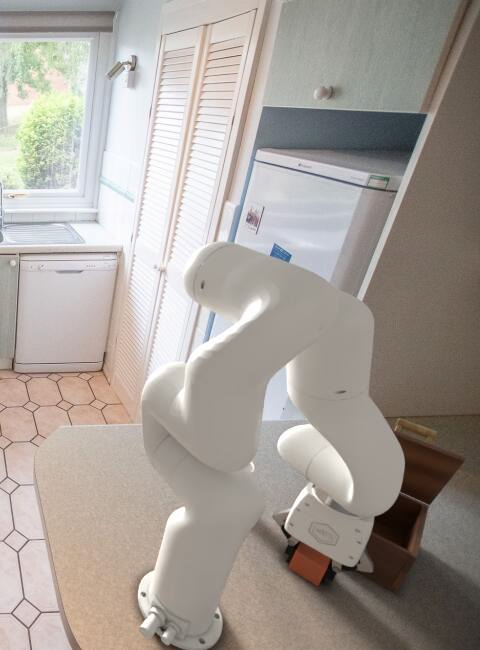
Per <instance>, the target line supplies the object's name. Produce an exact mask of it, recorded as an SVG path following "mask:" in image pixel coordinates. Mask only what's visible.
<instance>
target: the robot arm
mask: <svg viewBox="0 0 480 650" xmlns="http://www.w3.org/2000/svg"><path fill="white" fill-rule="evenodd" d="M182 284H183V287H184V290H185V292H186V293H187V295H188V296H189V298H190V299H191V300H192V301H194V302H195V303H197V304H199V305H200V306H202V307H204V308H206V309H207V310H209V311H211V312H213V313H214V314H216V315H217V316H220V317H221V318H224V319H225V320H227V321H229V322H230V323H232V324H233V325H232V326H230V327H229V328H228V329H226V330H225V331H223V332H222V333H220V334H219V335H217V336H215V337H213V338H211V339H210V340H207V341H206V342H204V343H203V344H201V345H199V346H198V347H197V348H195V349H194V351H193V352H192V353H191V354H190V355H189V358H188V360H187V362H184V361H172V362H168V363H165V364H163V365H161V366H159V367H158V368H156V369H155V370H154V372H152V373H151V375H150V376H149V377H148V378H147V380H146V382H145V383H144V386H143V388H142V390H141V395H140V421H141V423H140V424H141V440H142V441H141V442H142V448H143V453H144V456H145V458H146V460H147V462H148V463H149V464H150V466H151V467H152V468H153V469H154V470H155V472H156V473H157V474H158V475H159V476H160V477H161V479H162V480H163V481H164V482H165V483H166V485H167V486H168V487H169V488H170V489H171V491H172V492H173V493H174V495H175V496H176V497H177V498H178V499H179V500H180V502H181V503H182V505H183V506H182V507H180V508H178V509H176V510H174V511H173V512H172V513H171V514H170V515H169V517H168V519H167V522H166V525H165V528H164V533H163V537H162V540H161V544H160V548H159V552H158V556H157V559H156V563H155V566H154V570H152V571H149V572H148V573H147V574H145V575H144V576H143V578H142V579H141V581H140V583H139V587H138V590H137V601H138V607H139V609H140V612H141V615H142V616H143V618H144V621H143V623H142V624H141V625H140V626H139V632H140V634H141V635H142V636H143V637H144V639H147V640H151V639H152V638H153V637H154V635H155V634H156V635H157V636H159V637H160V640H161V642H162V643H163V644H164V645H165V646H170V645H172V646H174V647H177V648H179V649H181V650H208V649H210V648H212V647H214V646H215V645H216V644H217V643H218V642H219V639H220V637H221V635H222V631H223V625H224V622H223V615H222V612H221V609H220V607H219V604H220V602H221V599H222V596H223V593H224V591H225V588H226V586H227V583H228V581H229V578H230V575H231V573H232V569H233V567H234V566H235V565H234V564H235V561H236V559H237V557H238V554H239V552H240V550H241V548H242V546H243V543H244V541H245V539H246V538H247V536H248V535H249V533H250V532H251V531H252V529H253V528H254V527H255V526H256V525H257V523H258V522H259V521H260V519H261V518H262V516H263V515H264V513H265V512H266V511H265V510H266V509H267V508H266V507H267V496H266V493H265V490H264V489H263V486H262V485H261V484H260V481H258V479H257V478H256V477H255V476H254V474H253V475H252V474H251V473H250V472H249V471H248V470H247V469H246V468H245V467H247V466H248V465H249V464H250V462H251V461H252V462H253V460H254V459H255V456H256V455H257V452H258V448H259V444H260V438H261V431H262V422H263V415H264V406H265V398H266V393H267V390H268V385H269V383H270V381H271V380H272V378H273V377H275V375H276V374H277V373H278V372H279V371H280V370H282V369H283V368H284V367H285V366H286V391H287V394H288V397H289V399H290V400H291V402H292V404H293V406H295V408H296V409H297V410H298V411H299V412H300V414H301V415H302V416H303V417H304V418H305V419H306V421H307V422H308V424H301V425H295V426H293V427H291V428H289V429H287V430H286V431H284V432H283V433H282V434H281V435H280V437H279V439H278V441H277V451H278V454H279V456H280V457H281V458H282V459H283V461H285V463H287V464H288V465H289V466H290V467H291V468H293V469H294V470H295V471H297V473H299V474H300V475H301V476H302V477H304V478H305V479H306V480H307V481H308V483H307V484H306V485H305V487H304V488H303V489H302V490H301V491H300V492H299V495H298V496H297V498H296V499H295V501H294V503H293V505H292V507H289V508H284V509H281V510H276V511H274V512H273V514H272V516H271V517H272V519H273V520H274V521H275V523H276V524H277V525H278V527H280V530H281V532H282V533H283V536H284V537H285V538H286V543H287V546H286V547H285V550H284V552H283V553H284V555H287V558H286V560H285V563H287V564H289V565H290V563H291V560H292V558H293V556H294V554H295V552H296V550H297V548H298V546H299V544H300V542H303V543H305V544H307V545H308V546H310V547H312V548H314V549H315V550H317V551H319V552H321V553H322V554H324V555H326V556H328V557H330V558H331V560H330V563H329V565H328V568H327V570H326V572H325V574H324V576H323V578H322V580H321V582H320V584H322V585H323V586H325V585H326V584H327V581H330V582H334V581H335V580H334V579H335V577H336V576H337V574H339V573H342V571H343V572H357V571H356V570H359V571H363V572H369V573H372V572H373V570H374V564H373V562H372V560H371V558H370V556H369V553H368V551H367V549H366V544H367V542H368V540H369V537H370V535H371V532H372V528H373V524H374V516H378V515H380V514H383V513H384V512H386V511H387V510H388V509H389V508H390V507H391V506H392V505H393V504H394V502H395V501H396V499H397V497H398V495H399V492H400V490H401V486H402V481H403V475H404V468H405V458H404V454H403V451H402V448H401V446H400V444H399V442H398V440H397V438H396V436H395V435H394V433H393V431H392V430H393V429H392V428H391V427H390V425H389V423H388V421H387V419H386V418H385V417H384V414H383V413H382V412H381V410H380V409H379V407H378V406H377V405H376V403H375V402H374V401H373V399H372V398H371V396H370V393H369V392H370V383H371V370H372V369H371V368H372V360H373V359H372V358H373V347H374V336H375V318H374V314H373V312H372V310H371V309H370V307H368V305H367V304H366V303H365V302H364V301H363V300H361V299H359V298H357V296H354V295H352V294H350V293H348V292H347V291H344V290H341V289H338V288H336V287H335V286H333V285H332V284H331V282H329V281H328V280H327V279H326V278H324V277H322V276H320V275H319V274H317V273H315V272H313V271H311V270H309V269H306V268H304V267H301V266H299V265H297V264H293V263H291V262H289V261H286V260H284V259H280V258H278V257H275V256H272V255H268V254H266V253H263V252H260V251H257V250H256V249H252V248H249V247H247V246H243V245H241V244H238V243H235V242H231V241H225V240H223V241H213V242H210V243H207V244H205V245H203V246H201V247H199V248H198V249H196V250H195V251H194V252H193V253H192V254H191V256H190V257H189V258H188V260H187V262H186V263H185V265H184V268H183V271H182ZM391 429H392V430H391ZM400 493H401V492H400Z"/></svg>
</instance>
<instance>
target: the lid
mask: <svg viewBox="0 0 480 650" xmlns="http://www.w3.org/2000/svg"><path fill="white" fill-rule="evenodd" d="M394 426H395V428H394V429H392V428H391V430H392V431H393V433H394V435H395V436H396V438H397V440H398V442H399V444H400V446H401V448H402V451H403V454H404V458H405V468H404V475H403V481H402V486H401V490H400V493H402V494H404V495H407V496H409V497H411V498H413V499H415V500H418V501H420V502H422V503H424V504H427V505H429V506H430V505H431V504H432V503H433V502H434V500H436V498H437V497H438V496H439V495H440V493H442V491H443V490H444V488H445V487H446V486H447V485H448V483H449V482H450V481H451V480H452V478H453V477H454V476H455V475H456V474H457V472H458V471H459V469H460V468H461V467H462V466H463V464H465V462H466V459H467V457H466V456H462V455H460V454H457V453H455V452H453V451H449V450H447V449H444V448H442V447H439V446H436V445H433V444H432V442H433V441H434V440H435V439H436V436H437V434H438V431H437V430H434V429H431V428H428V427H426V426H423V425H420V424H416V423H414V422H413V421H409V420H406V419H403V418H400V417H398V419H397V421H396V422H395V425H394ZM402 430H404V431H407V432H410V433H412V434H415V435H417V436H420V437H423V438H426V439H425V440H421V439H418V438H415V437H413V436H410V435H408V434H405V433H402V432H401V431H402Z"/></svg>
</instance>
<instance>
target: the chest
mask: <svg viewBox="0 0 480 650" xmlns="http://www.w3.org/2000/svg"><path fill="white" fill-rule="evenodd" d="M429 508H430V505H428V504H426V503H424V502H421V501H419V500H417V499H415V498H412V497H410V496H408V495H406V494H403V493H401V492H399V495H398V497H397V499H396V501H395V502H394V504H393V505H392V506H391V507H390V508H389V509H388V510H387V511H386V512H384V513H383V514H380V515H378V516H374V524H373V528H372V532H371V535H370V537H369V540H368V542H367V544H366V549H367V551H368V553H369V556H370V558H371V560H372V562H373V564H374V570H373V572H372V573H369V572H363V571H359V570H356V571H355V572H358V573H359V574H361V575H363V576H365V577H367V578H369V579H370V580H372V581H374V582H375V583H376V584H379V585H381V586H383V587H384V588H386V589H388V590H389V591H391V592H393V593H396V592H397V591H398V589H399V587H400V586H401V584H402V583H403V582H404V580H405V578H406V576H407V575H408V573H409V572H410V570H411V569H412V567H413V565H414V564H415V563H416V561H417V559H418V556H419V552H420V547H421V544H422V540H423V539H422V538H423V534H424V529H425V525H426V521H427V517H428V513H429Z"/></svg>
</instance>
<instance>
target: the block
mask: <svg viewBox="0 0 480 650" xmlns="http://www.w3.org/2000/svg"><path fill="white" fill-rule="evenodd" d="M330 560H331V558H330V557H328V556H326V555H324V554H322V553H321V552H319V551H317V550H315V549H314V548H312V547H310V546H308V545H307V544H305V543H303V542H300V544H299V546H298V548H297V550H296V552H295V554H294V556H293V558H292V560H291V563H289V566H288V570H291V571H292V572H294V573H296V574H298V575H299V576H300V577H302V578H303V579H305V580H307V581H309V582H310V583H312V584H313V585H315V586H316V587H319V585H320V584H321V580H322V578H323V576H324V574H325V572H326V570H327V568H328V565H329V563H330Z"/></svg>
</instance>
